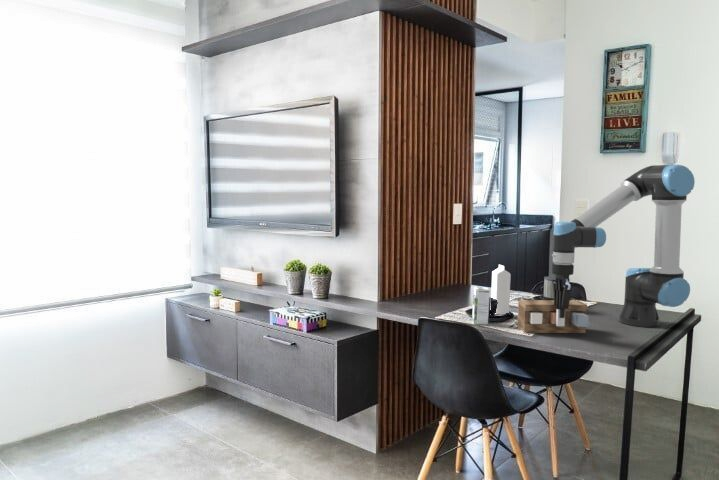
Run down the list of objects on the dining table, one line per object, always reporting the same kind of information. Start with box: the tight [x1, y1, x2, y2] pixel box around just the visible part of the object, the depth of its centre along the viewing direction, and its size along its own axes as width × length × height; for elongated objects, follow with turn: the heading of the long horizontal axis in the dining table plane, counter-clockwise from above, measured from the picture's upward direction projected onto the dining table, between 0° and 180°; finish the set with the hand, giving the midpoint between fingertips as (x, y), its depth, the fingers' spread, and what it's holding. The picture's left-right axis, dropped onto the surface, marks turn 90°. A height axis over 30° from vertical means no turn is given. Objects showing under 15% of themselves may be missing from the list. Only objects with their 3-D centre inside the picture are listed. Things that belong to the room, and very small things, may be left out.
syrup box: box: [471, 286, 491, 325], centre depth 225 cm, size 6×6×14 cm
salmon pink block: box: [549, 311, 556, 324], centre depth 214 cm, size 4×9×4 cm, turn 3°
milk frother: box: [525, 275, 556, 300], centre depth 253 cm, size 14×16×15 cm
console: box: [516, 299, 588, 334], centre depth 216 cm, size 24×8×11 cm, turn 93°
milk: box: [490, 264, 512, 314], centre depth 238 cm, size 6×6×22 cm
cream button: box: [529, 311, 543, 324], centre depth 214 cm, size 4×9×4 cm, turn 3°
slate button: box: [570, 311, 590, 328], centre depth 210 cm, size 4×9×4 cm, turn 3°
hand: (560, 325), depth 208 cm, fingers closed
